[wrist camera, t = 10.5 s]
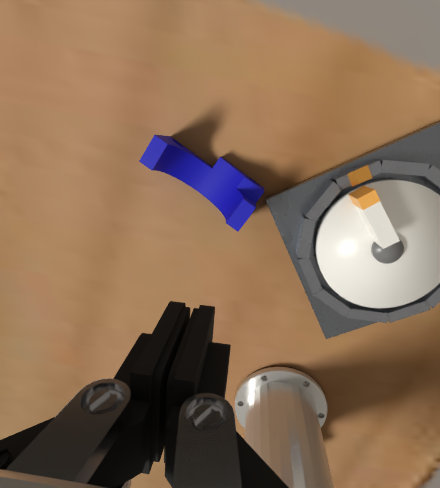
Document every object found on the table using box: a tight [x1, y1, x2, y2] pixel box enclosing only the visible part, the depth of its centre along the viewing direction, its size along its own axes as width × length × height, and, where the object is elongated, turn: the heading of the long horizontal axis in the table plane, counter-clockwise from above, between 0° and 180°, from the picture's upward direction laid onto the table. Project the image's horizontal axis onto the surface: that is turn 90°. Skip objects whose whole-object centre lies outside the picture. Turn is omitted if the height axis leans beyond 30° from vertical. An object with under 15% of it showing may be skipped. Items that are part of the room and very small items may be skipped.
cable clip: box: [139, 135, 264, 231], centre depth 34 cm, size 12×4×6 cm, turn 55°
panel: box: [265, 121, 440, 339], centre depth 35 cm, size 19×19×4 cm
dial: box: [315, 179, 440, 308], centre depth 33 cm, size 14×14×5 cm
